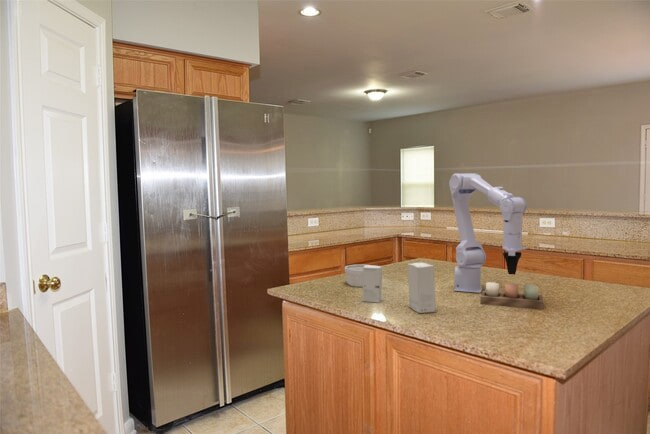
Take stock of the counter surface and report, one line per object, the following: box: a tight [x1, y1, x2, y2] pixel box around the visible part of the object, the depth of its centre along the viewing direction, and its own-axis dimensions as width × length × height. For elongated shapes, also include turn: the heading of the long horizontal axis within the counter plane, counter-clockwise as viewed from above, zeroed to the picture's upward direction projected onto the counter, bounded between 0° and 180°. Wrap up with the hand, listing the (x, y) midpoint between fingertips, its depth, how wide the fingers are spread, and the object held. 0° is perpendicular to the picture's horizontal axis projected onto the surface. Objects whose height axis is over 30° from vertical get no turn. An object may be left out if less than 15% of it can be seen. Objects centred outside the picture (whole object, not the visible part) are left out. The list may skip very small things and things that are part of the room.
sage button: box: [523, 284, 539, 300], centre depth 151 cm, size 4×4×4 cm
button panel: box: [479, 290, 544, 310], centre depth 153 cm, size 19×9×2 cm, turn 67°
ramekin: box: [344, 264, 366, 288], centre depth 185 cm, size 13×13×7 cm
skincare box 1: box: [362, 264, 383, 303], centre depth 159 cm, size 6×4×12 cm
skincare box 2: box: [407, 261, 437, 314], centre depth 147 cm, size 8×6×15 cm
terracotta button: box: [504, 282, 519, 298], centre depth 153 cm, size 4×4×4 cm
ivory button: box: [485, 281, 500, 297], centre depth 155 cm, size 4×4×4 cm
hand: (511, 274), depth 153 cm, fingers closed
